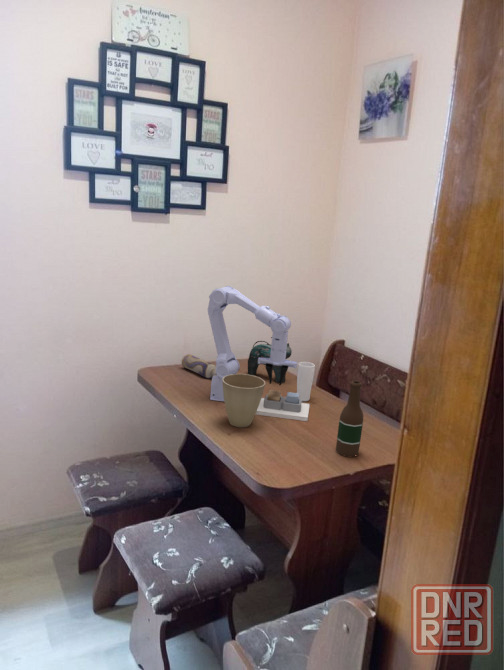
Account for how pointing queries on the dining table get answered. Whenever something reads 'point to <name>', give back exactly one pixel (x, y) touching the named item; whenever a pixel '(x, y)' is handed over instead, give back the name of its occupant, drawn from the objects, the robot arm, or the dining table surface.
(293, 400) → the key slate
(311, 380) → the drinking glass
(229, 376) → the plant pot
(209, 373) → the decorative bottle
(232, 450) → the dining table surface
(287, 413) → the key panel
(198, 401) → the dining table surface
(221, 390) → the robot arm
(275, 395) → the key oak
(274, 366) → the ceramic cat
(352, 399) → the beer bottle
